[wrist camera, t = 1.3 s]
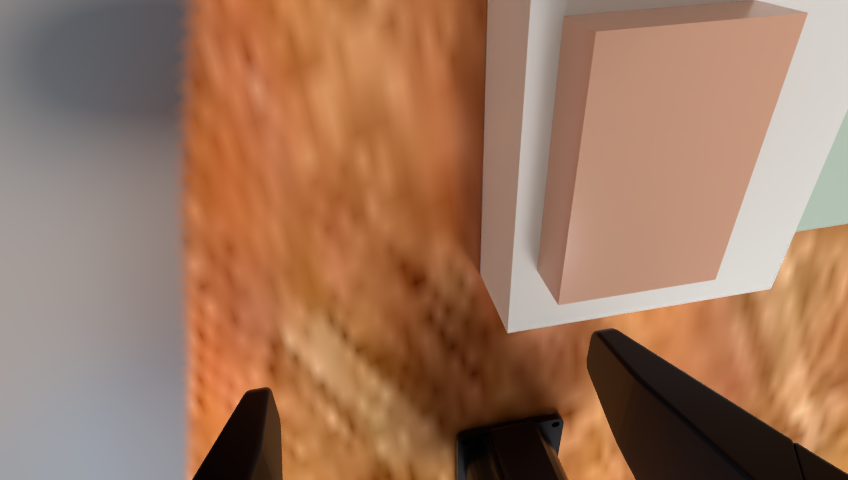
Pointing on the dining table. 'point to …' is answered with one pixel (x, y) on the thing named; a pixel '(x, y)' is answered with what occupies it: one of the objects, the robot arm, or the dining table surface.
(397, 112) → the dining table surface
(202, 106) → the dining table surface
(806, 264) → the dining table surface
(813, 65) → the board
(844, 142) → the mat
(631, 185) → the tile
